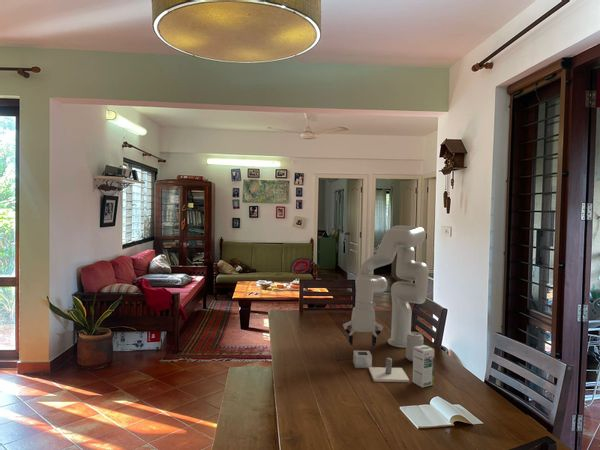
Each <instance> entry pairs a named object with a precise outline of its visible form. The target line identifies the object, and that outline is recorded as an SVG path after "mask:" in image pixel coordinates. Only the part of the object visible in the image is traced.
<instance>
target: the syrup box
mask: <svg viewBox="0 0 600 450" xmlns="http://www.w3.org/2000/svg"><path fill="white" fill-rule="evenodd" d="M434 375H435V348H433V347H431V346H429V345H425V344H423V346H417V347H414V350H413V361H412V383H414V384H416V385H417V386H419V387H421V388H426V387H430V386H433V385H434V381H435V379H434V377H435V376H434Z"/></svg>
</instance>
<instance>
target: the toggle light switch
mask: <svg viewBox="0 0 600 450" xmlns="http://www.w3.org/2000/svg"><path fill="white" fill-rule="evenodd" d="M392 364H393V359H392V358H391V357H386V358H385V366H384V367H379V366H378V367H375V366H372V367H369V368H368V371H369V373H370V376H371V377H372V380H373V382H378V383H379V382H385V383H389V382H390V383H410V379H409V377H408V375H407V374H406V371H405V370H404V369H403V367H392V366H393V365H392Z"/></svg>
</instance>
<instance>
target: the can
mask: <svg viewBox="0 0 600 450" xmlns="http://www.w3.org/2000/svg"><path fill="white" fill-rule="evenodd" d="M424 340H425V339H424V336H423V333H421V332H417V331H411V332H409V333H408V335H407V340H406V348H405V358H406V359H407V361H410V362H413V350H414V347H417V346H423V345H424Z"/></svg>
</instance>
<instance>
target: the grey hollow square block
mask: <svg viewBox="0 0 600 450" xmlns="http://www.w3.org/2000/svg"><path fill="white" fill-rule="evenodd" d="M352 355H353V356H352V358H353V359H352V363H353V365H354V367H355V368H356V369H369V367H373V355H372V353H371V351H370V350H353V354H352Z"/></svg>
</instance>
